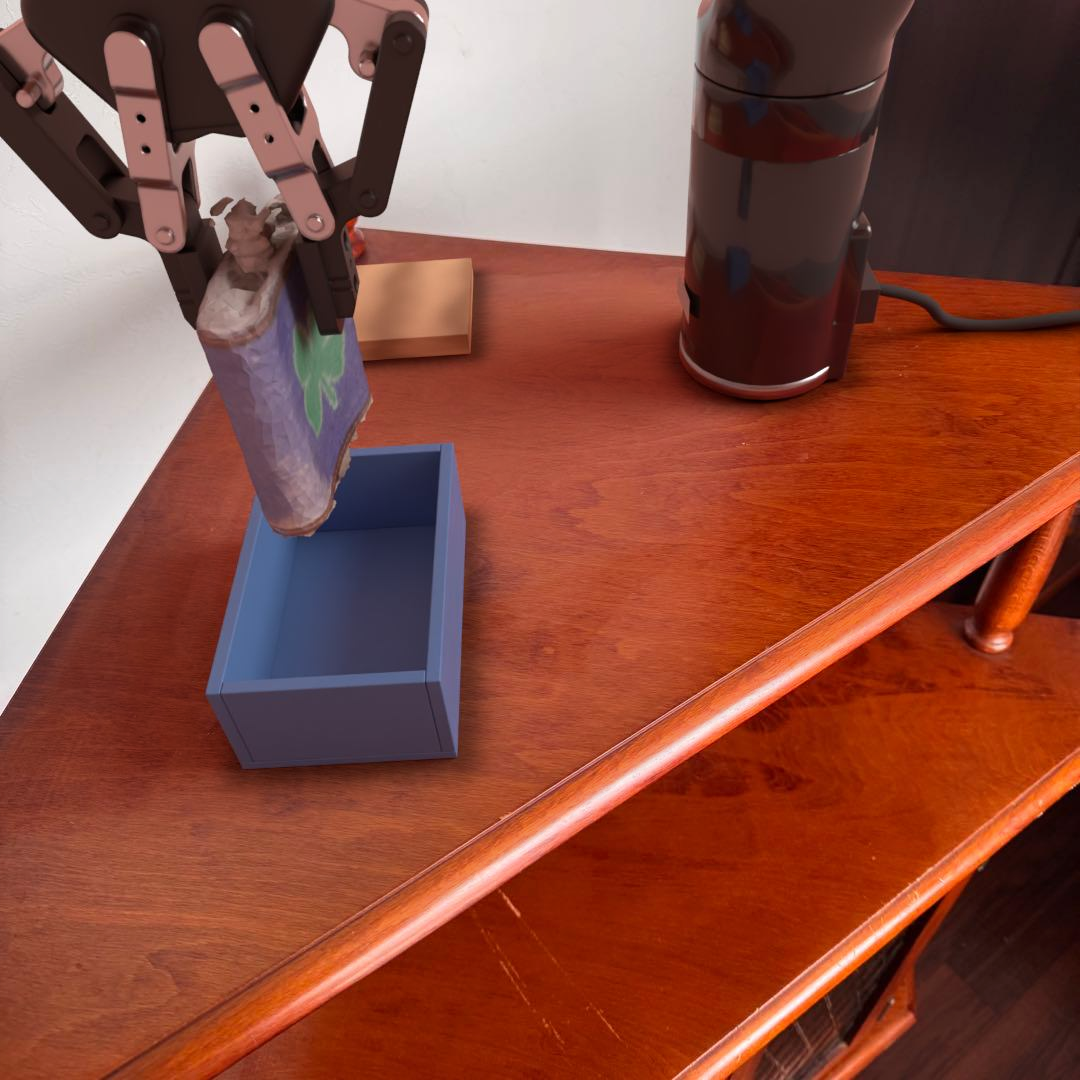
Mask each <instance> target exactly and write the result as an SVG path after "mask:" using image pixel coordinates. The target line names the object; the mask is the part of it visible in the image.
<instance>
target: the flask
mask: <svg viewBox="0 0 1080 1080" xmlns="http://www.w3.org/2000/svg"><path fill="white" fill-rule="evenodd" d="M233 202H234V198H232V197H230V196H225V197H222V198H221V199H220V200H218V201H217V202H216V203H215V204H213V205H212V206H211V207H210V209H209V215H210V217H219V216H220V215H221V214H223V212H224V211H225V210H226V208H227V206H228V205H230V204H231V203H233ZM257 207H258V205H255V204H254V203H252V202H251V201H248V200H246V197H245V196H244V197H243V198H241V199H238V201H237V202H236V203H235V204H234V205H233V206H232V207H230V211H229V212H227V213H226V215H225V216H224V217H223V221H224V222H225V225H226V226H227V228H228V237H227V239H226V242H225V245H224V248H225V249H226V250H225V251H224V252H223V257H222V258H221V260H220V261H219V263H218V264H217V267H216V270H215V272H214V273H213V275H212V278H211V279H210V281H209V283H208V286H207V290H206V293H205V296H204V298H203V300H202V303H201V305H200V307H199V311H198V318H197V321H196V323H195V325H196V330H195V333H196V335H197V339H198V341H199V343H200V345H201V348H202V350H203V352H204V354H205V358H206V361H207V363H208V367H209V369H210V371H211V374H212V377H213V379H214V382H215V384H216V387H217V389H218V391H219V394H220V397H221V400H222V402H223V406H224V408H225V411H226V413H227V415H228V418H229V420H230V423H231V427H232V430H233V433H234V436H235V438H236V440H237V443H238V445H239V447H240V450H241V452H242V455H243V459H244V462H245V463H244V464H245V466H246V468H247V471H248V475H249V477H250V480H251V484H252V486H253V488H254V491H255V492H256V494H257V496H258V499H259V501H260V503H261V509H262V512H263V514H264V516H265V518H266V520H267V522H268V524H269V525H270V527H271V528H272V530H273V532H274V533H276V534H278V535H279V536H282V537H285V538H288V537H292V536H293V537H296V536H297V535H298V536H303V535H304V536H308V537H310V536H311V535H313V533H314V532H315V531H316V529H317V528H318V527H319V526H321V525H322V524H323V522H324V521H325V520H327V518H328V517H329V515H330V513H331V512H332V510H333V508H334V507H335V504H336V501H335V500H334V497H333V496H334V493H335V491H336V488H337V487H338V484H339V483H340V480H341V478H343V477H344V476H345V473H346V470H347V469H348V468H350V466H349V462H350V461H351V458H350V456H351V455H348V454H349V453H350V451H349V449H350V447H349V446H350V444H351V443H352V441H355V440H358V439H359V437H358V433H357V431H358V430H357V429H358V427H359V425H361V423H362V422H363V421H366V419H367V418H366V415H367V413H368V411H369V409H370V408H371V405H372V404H373V403H374V398H373V395H372V392H371V389H370V386H369V381H368V378H367V374H366V372H365V371H366V370H365V367H364V361H362V356H361V351H360V348H359V344H358V340H357V334H356V327H355V323H354V318H345V322H344V327H343V333H342V334H339V335H327V336H321V335H320V333H319V330H318V327H317V323H316V320H315V316H314V312H313V309H312V305H311V302H310V298H309V294H308V291H307V287H306V283H305V280H304V276H303V273H302V269H301V265H300V262H299V258H298V254H297V251H296V247H295V241H296V238H297V234H298V228H297V226H296V224H295V222H294V220H293V218H292V216H291V214H290V212H289V210H288V208H287V206H286V203H285V201H284V199H283V197H282V195H281V193H278V194H277V195H275V196H274V197H273V198H270V199H269V200H268V202H267V203H265V206H263V207H262V209H260V211H259V213H258V214H257ZM209 224H210V226H211V227H214V228H215V227H216V225H217V224H216V222H215V220H214V218H211V219H210V221H209ZM275 528H277V529H279V530H280V531H282V532H284V533H287V534H289V535H286V534H282V533H281V532H279V531H278V530H277V529H275Z"/></svg>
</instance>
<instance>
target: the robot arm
mask: <svg viewBox="0 0 1080 1080" xmlns="http://www.w3.org/2000/svg"><path fill="white" fill-rule="evenodd" d="M915 1H916V0H701V1H700V4H699V6H698V8H697V9H698V10H697V16H696V21H695V23H696V24H695V41H694V42H695V44H694V64H693V80H692V81H693V82H692V83H693V85H692V103H691V106H692V107H691V125H690V126H691V127H690V147H689V167H688V168H689V170H688V189H687V192H688V193H687V194H688V195H687V210H686V212H687V213H686V231H685V253H684V271H683V272H684V275H683V276H684V277H683V278H682V275H681V272H680V270H679V269H677V283H676V284H677V285H676V287H677V288H676V293H677V296H678V299H679V301H680V305H681V307H682V314H681V322H680V323H681V324H680V332H679V342H678V343H679V346H678V355H679V359H680V362H681V364H682V366H683V368H684V369H685V370H686V372H687V373H688V374H689V375H690V376H691V377H692V378H693V379H694V380H696V381H697V382H698V383H700V384H701V385H703V386H705V387H706V388H708V389H710V390H712V391H715V392H717V393H720V394H723V395H726V396H730V397H735V398H738V399H739V398H740V399H745V400H756V401H757V400H758V401H759V400H761V401H768V400H769V401H770V400H780V399H787V398H792V397H795V396H799V395H802V394H805V393H808V392H810V391H812V390H814V389H816V388H817V387H819V386H821V385H822V384H823V383H824V382H825V381H828V380H838V379H843V378H845V377H846V371H847V365H848V361H849V356H850V350H851V345H852V340H853V335H854V330H855V325H861V324H873V323H874V322H875V319H876V313H877V308H878V303H879V299H880V296H881V297H886V298H891V299H897V300H900V301H905V302H908V303H911V304H914V305H916V306H918V307H920V308H922V309H924V310H925V311H926V312H927V313H928V314H929V316H930V317H931V319H933V321H934V322H936V323H937V324H939V325H941V326H943V327H946V328H949V329H955V330H960V331H967V332H1006V331H1008V332H1009V331H1023V330H1033V329H1039V328H1046V327H1047V328H1048V327H1052V326H1059V325H1066V324H1075V323H1080V309H1077V310H1076V309H1075V310H1067V311H1060V312H1054V313H1047V314H1041V315H1033V316H1025V317H1024V316H1023V317H1018V318H1017V317H1016V318H1006V319H1005V318H1004V319H1003V318H1002V319H975V318H964V317H960V316H956V315H955V316H954V315H951V314H949V313H947V312H946V311H944V310H943V308H942V307H941V306H940V305H939V303H938V302H937V301H936V300H935V299H934V298H933V297H932V296H929V295H927V294H925V293H923V292H921V291H917V290H915V289H911V288H908V287H903V286H898V285H893V284H888V283H884V282H879V281H877V278H876V276H875V274H874V272H873V269H872V267H871V266H870V263H869V261H868V257H869V253H870V252H869V251H870V246H871V241H872V235H873V230H872V226H871V222H870V221H869V219H868V218H867V215H866V214H865V212H864V207H865V200H866V195H867V189H868V183H869V179H870V172H871V167H872V161H873V158H874V157H873V156H874V151H875V146H876V141H877V135H878V129H879V125H880V117H881V112H882V106H883V101H884V95H885V90H886V84H887V79H888V73H889V68H890V63H891V58H892V53H893V47H894V43H895V39H896V37H897V34H898V31H899V29H900V27H901V26H902V24H903V23H904V21H905V19H906V18H907V16H908V15H909V13H910V11H911V9H912V7H913V5H914V3H915ZM19 7H20V14H21V17H20V18H19V19H16V20H15V21H14V22H13V23H11V24H10V25H8V26H7V27H6V28H3V27H0V138H1V140H2V141H4V143H5V144H6V145H7V146H8V147H9V148H10V149H11V150H12V151H13V153H14V154H15V155H16V156H17V157H18V158H19V159H20V160H21V161H22V162H23V163H24V164H25V165H26V167H27V168H28V169H29V170H30V171H31V172H32V173H33V174H34V175H35V176H36V177H37V179H38V180H39V181H40V182H41V183H42V184H43V185H44V186H45V187H46V188H47V190H49V191H50V192H51V193H52V195H53V196H54V197H55V198H56V199H57V200H58V201H59V202H60V203H61V204H62V205H63V207H64V208H65V209H66V210H67V211H68V212H69V213H70V214H71V216H72V217H74V218H75V219H76V221H77V222H78V223H79V224H80V225H81V226H82V227H83V228H84V229H85V231H86V232H88V233H89V234H90V235H91V236H93V237H96V238H98V239H102V240H111V239H115V238H117V236H118V235H124V236H128V237H133V238H138V239H140V240H143V241H144V242H147V243H148V244H150V246H152V247H153V248H154V249H155V250H156V251H157V253H158V254H159V256H160V258H161V261H162V264H163V266H164V268H165V272H166V274H167V277H168V279H169V283H170V284H171V288H172V290H173V292H174V293H175V294H174V295H175V297H176V301H177V302H178V306H179V308H180V311H181V314H182V316H183V319H184V320H185V321H186V322H187V324H189V325H190V327H191V328H192V329H193V330H194V331H196V325H195V323H196V321H197V318H198V311H199V307H200V305H201V303H202V300H203V298H204V296H205V293H206V290H207V286H208V283H209V281H210V279H211V278H212V275H213V273H214V272H215V270H216V267H217V264H218V263H219V261H220V260H221V258H222V257H223V253H224V252H223V249H222V246H221V243H220V240H219V237H218V233H217V231H216V228H215V226H214V227H211V226H210V224H209V221H210V219H212V217H206V218H202V216H201V212H200V207H201V204H202V200H201V193H200V192H201V191H200V184H199V177H198V169H197V162H196V153H195V151H196V143H197V142H196V141H197V140H198V139H201V138H204V137H207V136H209V135H212V134H215V135H222V136H228V137H234V138H239V139H243V138H246V139H247V141H248V143H249V145H250V146H251V149H252V151H253V154H254V156H255V157H256V159H257V162H258V163H259V165H260V168H261V169H262V172H263V173H264V175H265V176H266V177H267V178H268V179H270V180H272V181H273V182H274V183H275V186H276V187H277V189H278V191H279V194H281V195H282V197H283V199H284V201H285V203H286V206H287V208H288V210H289V212H290V214H291V216H292V218H293V220H294V222H295V224H296V226H297V228H298V234H297V238H296V241H295V247H296V251H297V254H298V258H299V262H300V265H301V269H302V273H303V276H304V280H305V283H306V287H307V291H308V294H309V298H310V302H311V305H312V309H313V312H314V316H315V320H316V323H317V327H318V330H319V333H320V335H321V336H327V335H339V334H342V333H343V327H344V322H345V318H353V316H354V311H355V307H356V301H357V295H358V289H359V283H360V281H359V277H358V272H357V268H356V266H357V265H356V259H355V257H354V251H353V246H352V242H351V238H350V234H349V229H348V225H347V223H349V222H350V221H352V220H354V219H356V218H359V217H362V218H363V217H364V218H367V219H368V218H369V219H371V218H377V217H379V216H381V215H383V214H384V212H385V211H386V210H387V208H388V205H389V201H390V196H391V193H392V188H393V184H394V180H395V176H396V172H397V167H398V164H399V160H400V155H401V151H402V147H403V144H404V143H403V142H404V138H405V135H406V132H407V131H406V130H407V126H408V122H409V119H410V116H411V115H410V114H411V111H412V106H413V103H414V98H415V94H416V89H417V85H418V81H419V78H420V73H421V69H422V65H423V61H424V56H425V53H426V47H427V39H428V31H429V23H430V9H429V5H428V4H427V1H426V0H19ZM329 26H330V27H333V28H334V29H336V30H337V31H339V32H340V34H341V35H342V36H343V37H344V39H345V41H346V44H347V47H348V48H347V49H348V51H347V52H348V53H347V59H348V64H349V66H350V69H351V70H352V71H353V73H354V74H355V75H356V76H357V77H359V78H360V79H362V80H365V81H369V82H371V85H370V89H369V94H368V99H367V104H366V108H365V114H364V119H363V122H362V128H361V132H360V137H359V142H358V146H357V151H356V155H355V156H354V157H351V158H349V159H347V160H346V161H343V162H340V163H339V164H337V165H335V163H334V162H333V161H334V160H333V159H332V156H331V155H330V152H329V150H328V147H327V146H326V144H325V143H326V142H325V140H324V139H323V136H322V133H321V128H320V122H319V117H318V113H317V111H316V109H315V107H314V104H313V101H312V100H311V98H310V95H309V93H308V91H307V88H306V85H305V81H306V79H307V77H308V74H309V72H310V69H311V67H312V65H313V63H314V60H315V58H316V56H317V54H318V51H319V49H320V47H321V45H322V43H323V41H324V38H325V36H326V34H327V31H328V29H329ZM55 61H57V62H58V63H59V64H60V65H62V66H63V68H64V69H66V70H67V71H68V72H69V73H71V74H72V75H73V76H74V77H75V78H77V80H79V81H80V82H81V83H82V84H84V85H85V87H88V89H90V91H92V92H93V93H94V94H95V95H96V96H98V97H99V98H100V99H101V100H102V101H104V103H105V104H106V105H108V106H109V107H110V108H112V109H113V110H114V111H115V112H116V113H117V114H118V119H119V125H120V129H121V136H122V141H123V146H124V152H125V153H124V154H125V158H126V164H127V165H126V164H125V162H124V161H123V160H122V159H121V158H120V157H119V155H118V154H117V153H116V152H115V151H114V149H113V148H112V147H111V146H110V145H109V144H108V143H107V141H106V139H104V138H103V136H101V134H100V133H99V132H98V130H96V129H95V127H94V126H93V125H92V123H91V122H90V121H89V120H88V119H87V117H85V116H84V114H83V113H82V112H81V111H80V109H79V108H78V106H76V105H75V103H74V102H72V100H71V99H70V98H69V96H68V95H67V94H66V93H65V92H64V91H63V90H64V87H65V78H64V76H63V74H62V71H61V69H60V68H59V67H58V65H57V62H55Z"/></svg>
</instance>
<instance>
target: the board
mask: <svg viewBox="0 0 1080 1080" xmlns="http://www.w3.org/2000/svg"><path fill="white" fill-rule="evenodd" d="M472 261H473V260H472V258H471V257H464V258H448V259H433V260H419V261H405V262H404V261H403V262H402V261H401V262H389V263H376V264H373V263H372V264H361V265H356V268H357V272H358V277H359V281H360V283H359V289H358V295H357V301H356V307H355V311H354V316H353V318H354V323H355V327H356V334H357V340H358V344H359V348H360V351H361V356H362V361H363V362H365V361H366V362H367V361H379V360H380V361H381V360H395V359H411V358H426V357H440V356H441V357H442V356H457V355H458V356H459V355H470V354H471V351H472V326H473V325H472V323H473V299H474V298H473V297H474V271H473V270H474V269H473V262H472Z"/></svg>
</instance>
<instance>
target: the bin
mask: <svg viewBox="0 0 1080 1080" xmlns="http://www.w3.org/2000/svg"><path fill="white" fill-rule="evenodd" d="M349 451H350V453H349V454H348V455H351V456H350V458H351V461H350V462H349V466H350V468H348V469H347V470H346V473H345V476H344V477H343V478H341V480H340V483H339V484H338V487H337V488H336V491H335V493H334V496H333V497H334V500H335V501H336V504H335V507H334V508H333V510H332V512H331V513H330V515H329V517H328V518H327V520H325V521H324V522H323V524H322V525H321V526H319V527H318V528H317V529H316V531H315V532H314V533H313V535H311V536H310V537H308V536H304V535H303V536H298V535H297V536H296V537H293V536H292V537H288V538H285V537H282V536H279V535H278V534H276V533H274V532H273V530H272V528H271V527H270V525H269V524H268V522H267V520H266V518H265V516H264V514H263V512H262V509H261V503H260V501H259V499H258V496H257V494H256V491H255V492H254V497H253V501H252V505H251V509H250V513H249V516H248V521H247V525H246V528H245V533H244V535H243V541H242V545H241V549H240V553H239V557H238V561H237V564H236V569H235V573H234V578H233V580H232V585H231V588H230V594H229V597H228V601H227V605H226V609H225V612H224V617H223V620H222V625H221V629H220V633H219V637H218V641H217V644H216V649H215V653H214V657H213V661H212V665H211V669H210V673H209V676H208V681H207V684H206V689H205V693H204V695H205V697H206V699H207V701H208V703H209V705H210V707H211V709H212V710H213V713H214V715H215V717H216V719H217V721H218V723H219V724H220V727H221V729H222V731H223V732H224V734H225V736H226V738H227V740H228V742H229V744H230V746H231V748H232V750H233V752H234V754H235V756H236V759H237V760H238V762H239V763H240V764H239V765H240V766H241V769H242V770H253V769H254V770H255V769H273V768H274V769H275V768H293V767H309V766H311V767H313V766H327V765H328V766H330V765H345V764H348V765H349V764H364V763H365V764H366V763H381V762H400V761H418V760H419V761H420V760H436V759H438V760H439V759H455V758H458V752H459V751H458V749H459V725H460V723H459V721H460V694H461V669H462V668H461V667H462V642H463V641H462V639H463V613H464V612H463V611H464V587H465V586H464V584H465V561H466V560H465V559H466V558H465V557H466V531H467V519H466V515H465V507H464V502H463V495H462V490H461V483H460V482H461V481H460V477H459V472H458V464H457V458H456V452H455V446H454V442H451V441H450V442H442V443H440V442H435V443H420V444H419V443H418V444H405V445H388V446H387V445H386V446H373V447H356V448H349ZM275 529H277V528H275ZM277 530H278V531H279V532H281V533H282V534H286V535H289V534H287V533H284V532H282V531H280V530H279V529H277Z"/></svg>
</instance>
